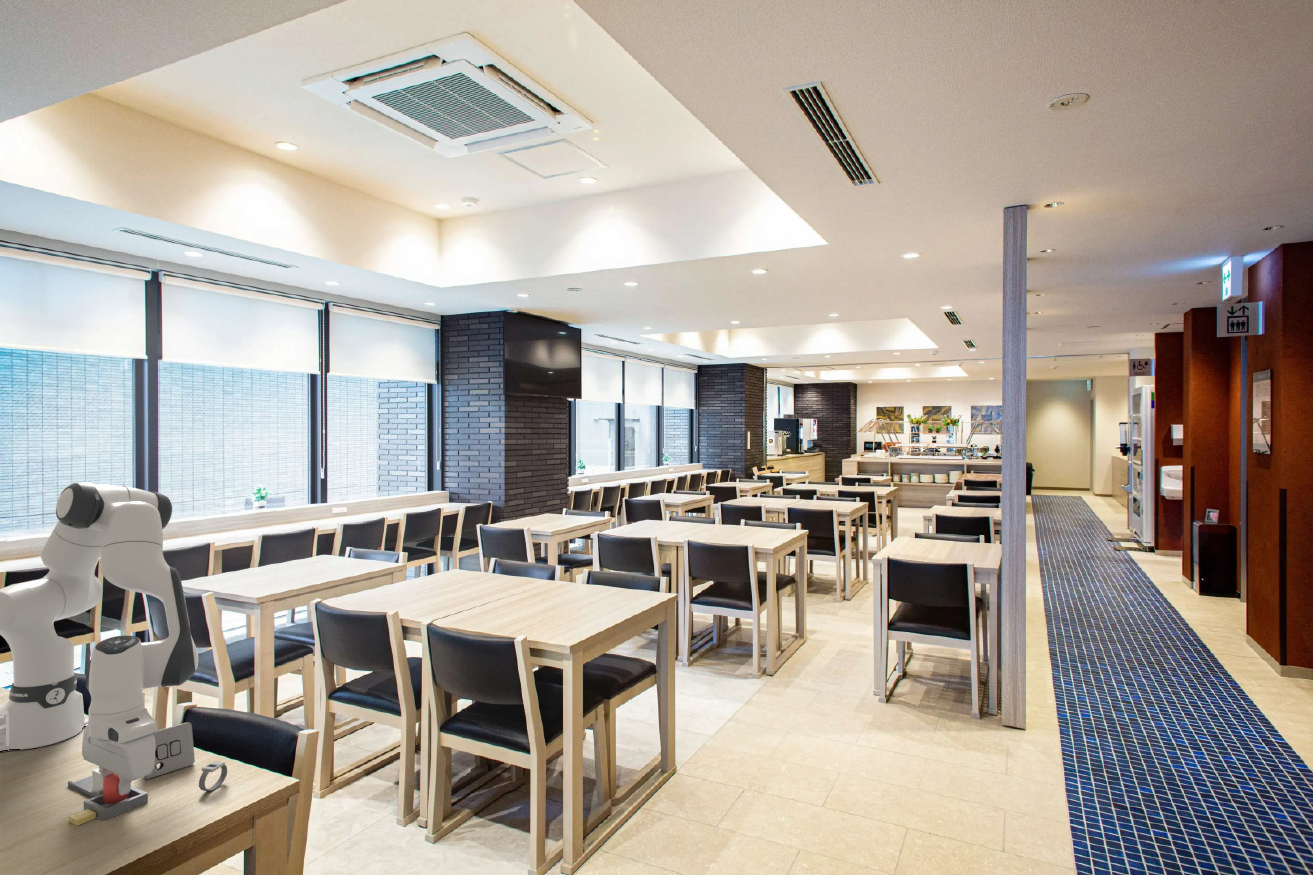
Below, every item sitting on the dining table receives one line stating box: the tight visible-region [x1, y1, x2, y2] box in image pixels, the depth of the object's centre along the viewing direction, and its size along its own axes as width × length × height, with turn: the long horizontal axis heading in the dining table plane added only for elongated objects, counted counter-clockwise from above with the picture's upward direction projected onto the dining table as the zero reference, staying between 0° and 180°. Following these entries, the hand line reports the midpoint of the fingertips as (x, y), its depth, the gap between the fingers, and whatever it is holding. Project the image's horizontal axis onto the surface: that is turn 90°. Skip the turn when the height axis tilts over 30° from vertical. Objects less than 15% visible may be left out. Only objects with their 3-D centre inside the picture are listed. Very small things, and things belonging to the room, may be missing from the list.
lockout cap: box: [103, 773, 129, 804], centre depth 135 cm, size 4×4×4 cm
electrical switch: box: [143, 722, 196, 780], centre depth 151 cm, size 9×5×9 cm, turn 141°
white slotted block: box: [91, 767, 103, 794], centre depth 141 cm, size 4×4×5 cm
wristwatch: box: [198, 760, 228, 792], centre depth 142 cm, size 6×3×5 cm, turn 170°
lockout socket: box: [68, 785, 149, 826], centre depth 134 cm, size 8×11×2 cm
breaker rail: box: [67, 775, 103, 799], centre depth 142 cm, size 13×5×2 cm, turn 63°
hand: (116, 789), depth 135 cm, fingers closed on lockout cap, 4 cm apart
